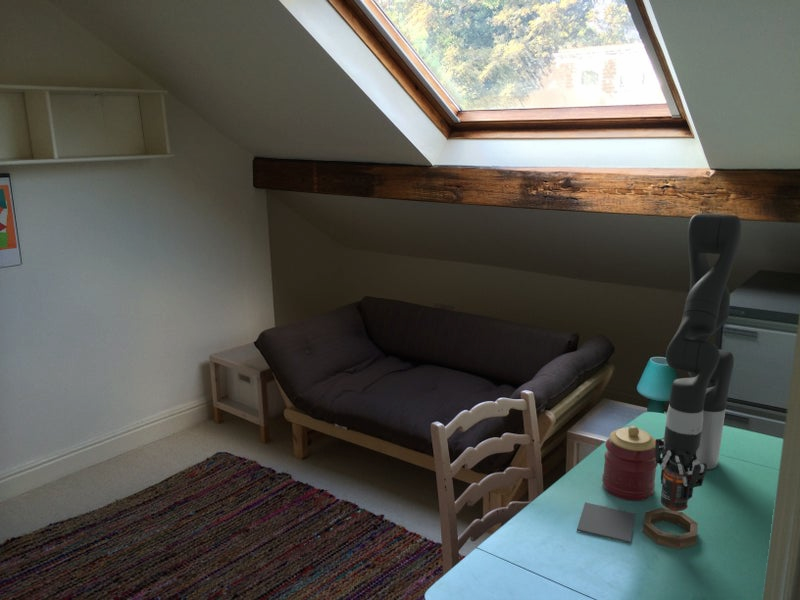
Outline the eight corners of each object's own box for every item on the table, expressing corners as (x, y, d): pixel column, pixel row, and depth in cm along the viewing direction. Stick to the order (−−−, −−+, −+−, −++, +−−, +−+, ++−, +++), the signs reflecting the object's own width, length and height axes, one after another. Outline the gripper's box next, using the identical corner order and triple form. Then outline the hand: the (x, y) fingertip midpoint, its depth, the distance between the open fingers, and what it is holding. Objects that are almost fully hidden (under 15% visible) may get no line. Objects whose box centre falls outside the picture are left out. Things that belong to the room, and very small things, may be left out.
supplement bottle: (693, 507, 159) (699, 463, 156) (676, 515, 156) (682, 470, 153) (671, 494, 164) (676, 452, 161) (654, 502, 161) (659, 459, 158)
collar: (645, 513, 169) (646, 504, 169) (696, 524, 165) (697, 515, 164) (641, 540, 159) (642, 531, 158) (695, 553, 155) (697, 543, 154)
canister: (664, 498, 175) (671, 436, 170) (617, 505, 173) (623, 441, 168) (637, 472, 188) (643, 413, 183) (592, 477, 185) (598, 417, 180)
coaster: (584, 504, 173) (585, 502, 173) (635, 515, 168) (635, 513, 168) (576, 531, 162) (576, 528, 162) (630, 543, 158) (630, 541, 158)
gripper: (648, 414, 159) (641, 478, 164) (693, 442, 146) (684, 511, 151) (674, 409, 162) (667, 472, 167) (721, 436, 149) (712, 504, 154)
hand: (675, 491), depth 159 cm, fingers closed on supplement bottle, 6 cm apart
